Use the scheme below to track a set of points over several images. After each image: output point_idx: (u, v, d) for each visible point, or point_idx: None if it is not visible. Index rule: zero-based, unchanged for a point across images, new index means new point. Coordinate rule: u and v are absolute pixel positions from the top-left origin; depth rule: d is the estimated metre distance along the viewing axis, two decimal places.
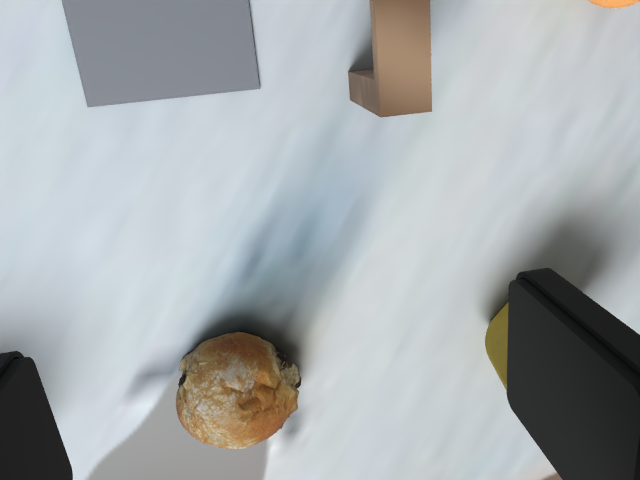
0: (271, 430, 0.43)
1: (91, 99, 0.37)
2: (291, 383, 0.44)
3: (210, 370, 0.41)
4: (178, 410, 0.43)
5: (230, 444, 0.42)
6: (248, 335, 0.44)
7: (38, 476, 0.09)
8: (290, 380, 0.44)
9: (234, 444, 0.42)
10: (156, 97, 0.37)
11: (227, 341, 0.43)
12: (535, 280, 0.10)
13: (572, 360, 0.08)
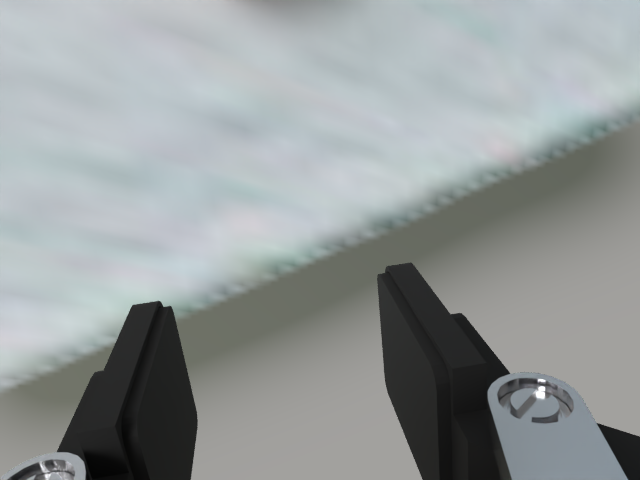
0: None
1: None
2: None
3: None
4: None
5: None
6: None
7: (182, 410, 0.10)
8: None
9: None
10: None
11: None
12: (393, 273, 0.11)
13: (407, 345, 0.09)
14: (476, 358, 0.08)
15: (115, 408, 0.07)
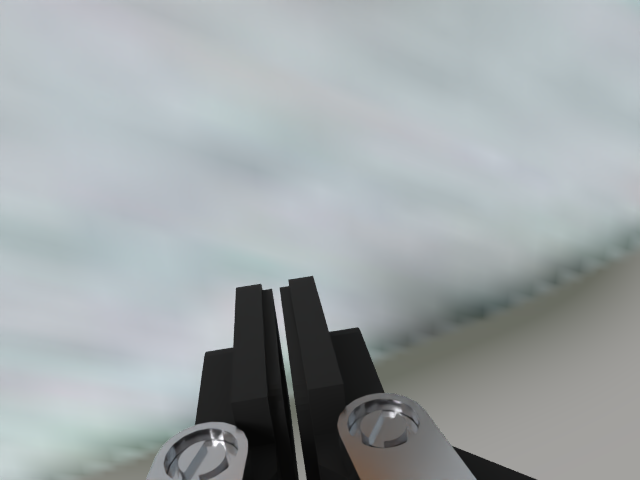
0: None
1: None
2: None
3: None
4: None
5: None
6: None
7: (286, 390, 0.11)
8: None
9: None
10: None
11: None
12: (290, 287, 0.10)
13: None
14: (334, 378, 0.08)
15: (260, 381, 0.08)
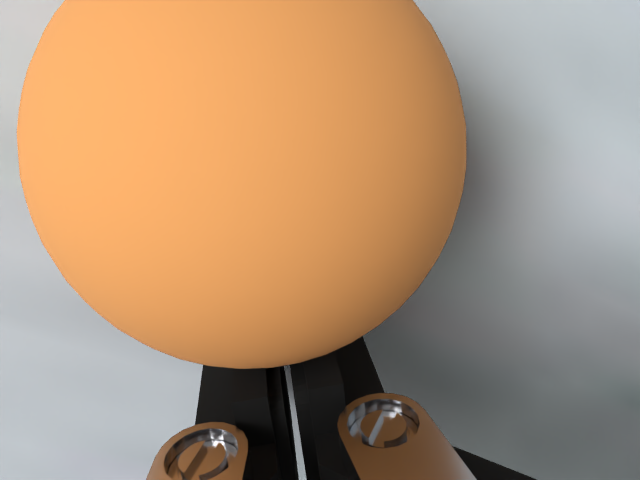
0: None
1: None
2: None
3: None
4: None
5: None
6: None
7: (286, 390, 0.11)
8: None
9: None
10: None
11: None
12: None
13: None
14: (334, 378, 0.08)
15: (260, 381, 0.08)
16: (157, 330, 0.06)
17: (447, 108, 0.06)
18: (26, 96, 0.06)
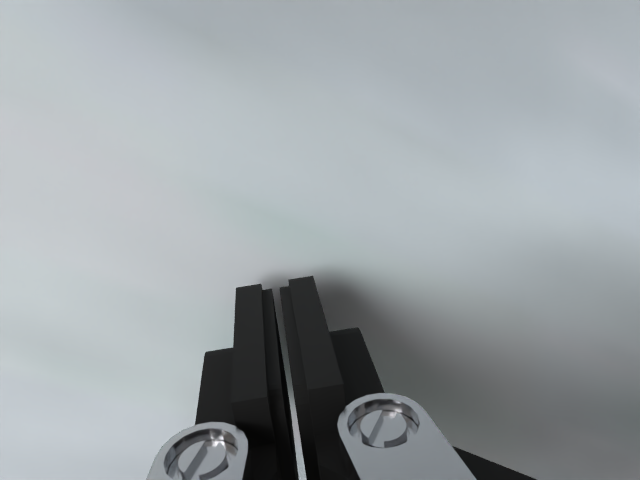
0: None
1: None
2: None
3: None
4: None
5: None
6: None
7: (286, 390, 0.11)
8: None
9: None
10: None
11: None
12: (291, 287, 0.10)
13: None
14: (334, 378, 0.08)
15: (260, 381, 0.08)
16: None
17: None
18: None
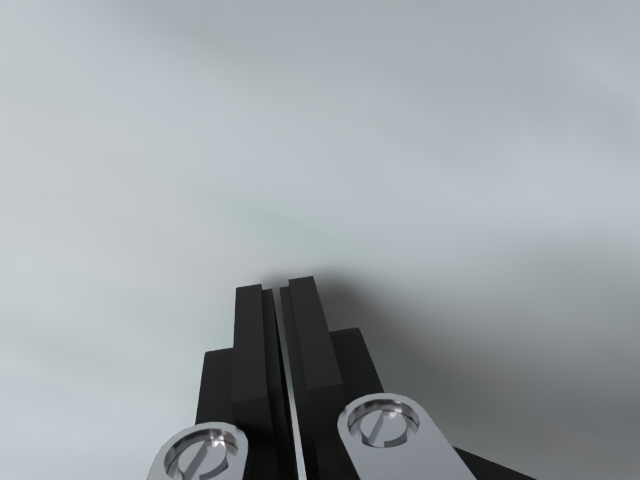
0: None
1: None
2: None
3: None
4: None
5: None
6: None
7: (286, 390, 0.11)
8: None
9: None
10: None
11: None
12: (291, 287, 0.10)
13: None
14: (334, 378, 0.08)
15: (260, 381, 0.08)
16: None
17: None
18: None
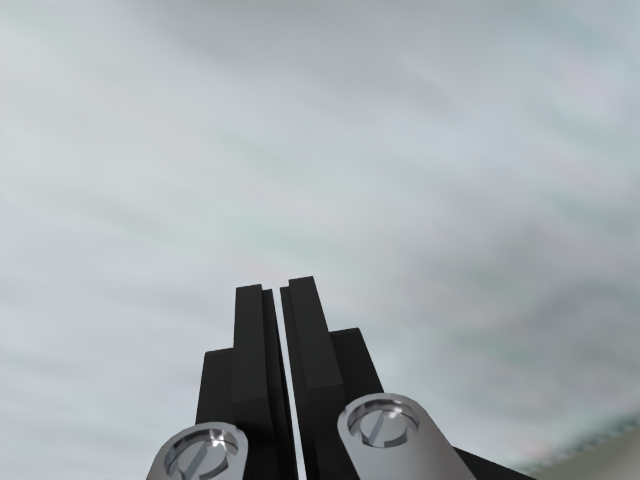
0: None
1: None
2: None
3: None
4: None
5: None
6: None
7: (286, 390, 0.11)
8: None
9: None
10: None
11: None
12: (290, 287, 0.10)
13: None
14: (334, 378, 0.08)
15: (260, 381, 0.08)
16: None
17: None
18: None
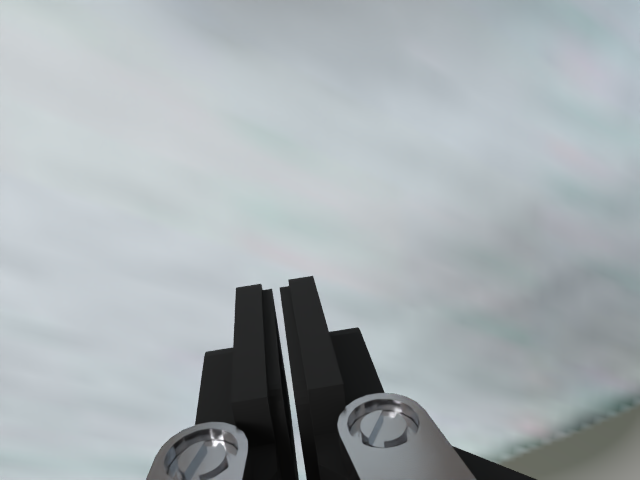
0: None
1: None
2: None
3: None
4: None
5: None
6: None
7: (286, 390, 0.11)
8: None
9: None
10: None
11: None
12: (290, 287, 0.10)
13: None
14: (334, 378, 0.08)
15: (260, 381, 0.08)
16: None
17: None
18: None
